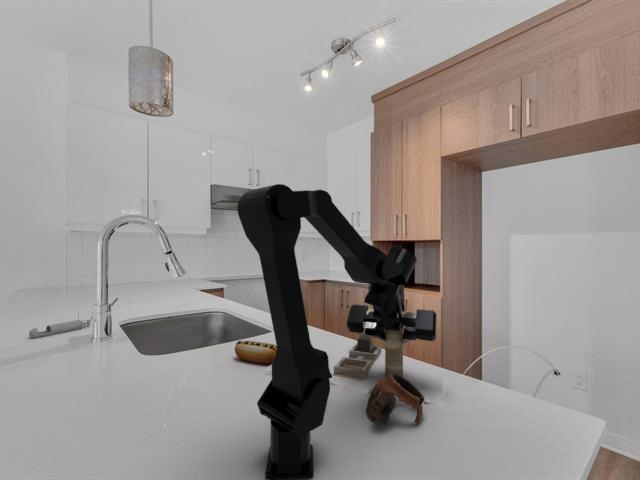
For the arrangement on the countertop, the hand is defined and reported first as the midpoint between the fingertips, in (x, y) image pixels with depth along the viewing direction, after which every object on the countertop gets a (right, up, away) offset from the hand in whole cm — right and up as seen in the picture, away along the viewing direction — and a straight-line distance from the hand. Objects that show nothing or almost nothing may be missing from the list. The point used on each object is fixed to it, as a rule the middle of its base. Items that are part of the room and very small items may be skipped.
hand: (394, 341), depth 75 cm
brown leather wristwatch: (-5, -9, -17) cm, 20 cm away
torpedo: (-109, -9, +38) cm, 116 cm away
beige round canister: (-1, -7, -1) cm, 7 cm away
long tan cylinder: (-5, -8, +12) cm, 15 cm away
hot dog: (-35, -9, +10) cm, 37 cm away
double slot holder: (-7, -9, +7) cm, 13 cm away
